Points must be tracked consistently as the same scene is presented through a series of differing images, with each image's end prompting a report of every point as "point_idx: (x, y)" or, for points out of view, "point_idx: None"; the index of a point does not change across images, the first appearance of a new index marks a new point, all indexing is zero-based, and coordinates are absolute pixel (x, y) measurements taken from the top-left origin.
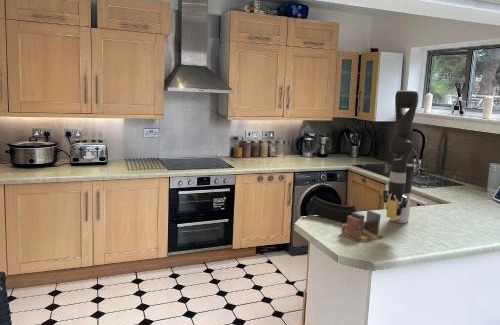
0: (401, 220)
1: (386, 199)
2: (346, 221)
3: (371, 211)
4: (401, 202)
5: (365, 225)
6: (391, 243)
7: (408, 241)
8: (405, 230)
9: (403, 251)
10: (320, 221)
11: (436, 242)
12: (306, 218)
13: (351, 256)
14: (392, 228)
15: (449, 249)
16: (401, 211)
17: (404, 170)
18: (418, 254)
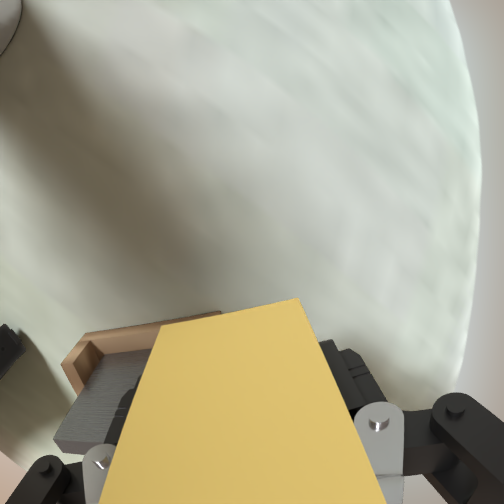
0: (6, 26)
1: (32, 489)
2: (6, 371)
3: (86, 448)
4: (398, 498)
5: (92, 370)
6: (321, 317)
7: (316, 177)
8: (114, 56)
9: (425, 316)
10: (18, 437)
11: (357, 10)
12: (5, 452)
13: None
14: (65, 130)
15: (450, 40)
16: (373, 378)
17: None
18: (470, 263)
